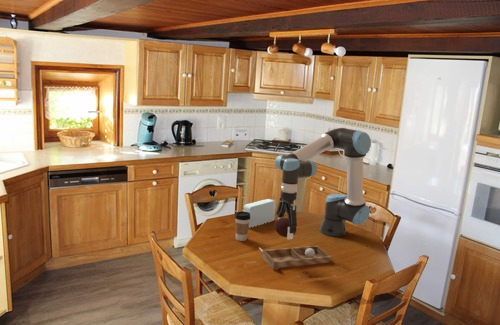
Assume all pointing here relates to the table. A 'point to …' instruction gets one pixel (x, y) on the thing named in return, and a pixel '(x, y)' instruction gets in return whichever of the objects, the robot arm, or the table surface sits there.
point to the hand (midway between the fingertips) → (284, 234)
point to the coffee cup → (242, 225)
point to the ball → (309, 253)
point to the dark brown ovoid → (282, 227)
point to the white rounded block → (260, 212)
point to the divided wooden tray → (294, 257)
